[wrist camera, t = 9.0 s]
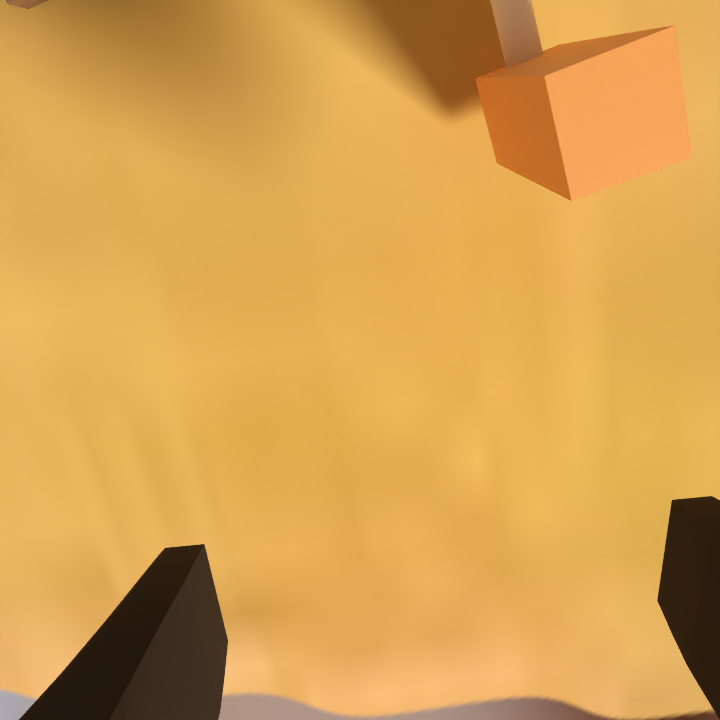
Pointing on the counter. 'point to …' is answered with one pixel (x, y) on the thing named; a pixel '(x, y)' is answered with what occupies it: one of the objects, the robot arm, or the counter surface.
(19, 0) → the lane shelf
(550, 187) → the rod with orange block
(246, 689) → the counter surface
